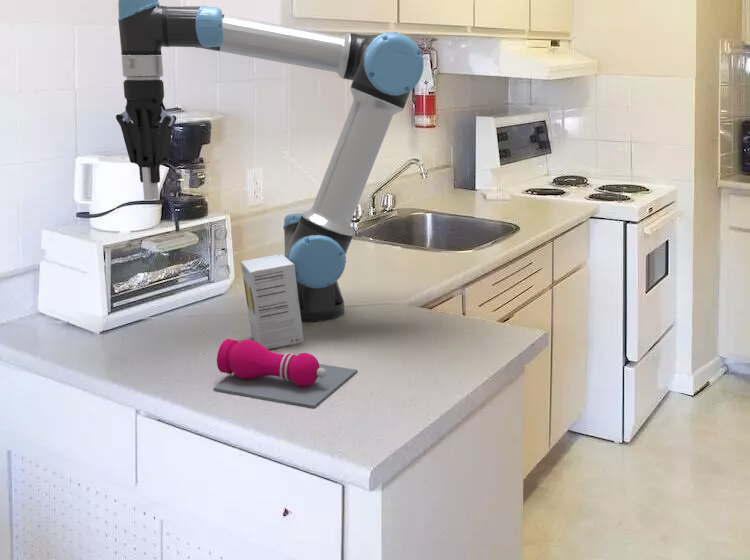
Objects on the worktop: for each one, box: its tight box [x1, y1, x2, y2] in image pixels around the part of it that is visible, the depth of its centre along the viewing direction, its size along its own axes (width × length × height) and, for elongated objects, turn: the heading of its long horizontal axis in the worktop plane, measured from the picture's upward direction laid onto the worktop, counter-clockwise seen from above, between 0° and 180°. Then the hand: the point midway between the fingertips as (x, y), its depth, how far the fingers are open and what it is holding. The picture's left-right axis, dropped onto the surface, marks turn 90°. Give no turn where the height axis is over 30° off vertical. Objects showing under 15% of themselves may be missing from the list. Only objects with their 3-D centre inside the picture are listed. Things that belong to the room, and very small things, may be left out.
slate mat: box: [213, 363, 358, 409], centre depth 155 cm, size 20×18×1 cm
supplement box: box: [240, 253, 305, 350], centre depth 173 cm, size 10×9×17 cm
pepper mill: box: [216, 338, 326, 387], centre depth 152 cm, size 7×7×20 cm
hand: (151, 198), depth 170 cm, fingers closed
